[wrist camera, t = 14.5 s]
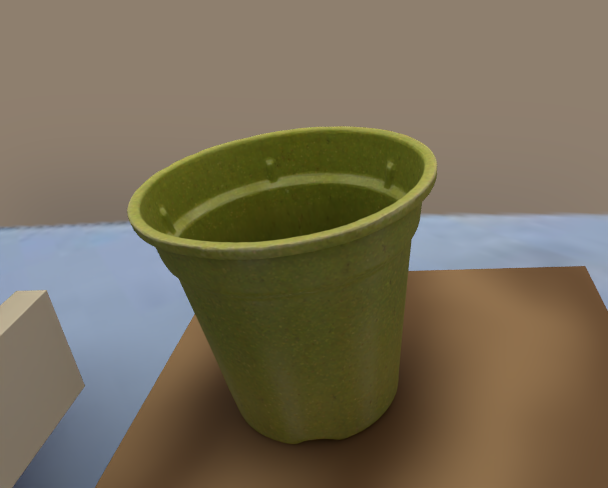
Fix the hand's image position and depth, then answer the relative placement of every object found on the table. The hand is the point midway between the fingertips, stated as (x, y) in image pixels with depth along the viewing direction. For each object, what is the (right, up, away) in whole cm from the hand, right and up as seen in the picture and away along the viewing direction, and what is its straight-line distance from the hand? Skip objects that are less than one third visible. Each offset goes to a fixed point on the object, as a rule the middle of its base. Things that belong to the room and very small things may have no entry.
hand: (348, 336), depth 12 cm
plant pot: (0, -4, +10) cm, 11 cm away
